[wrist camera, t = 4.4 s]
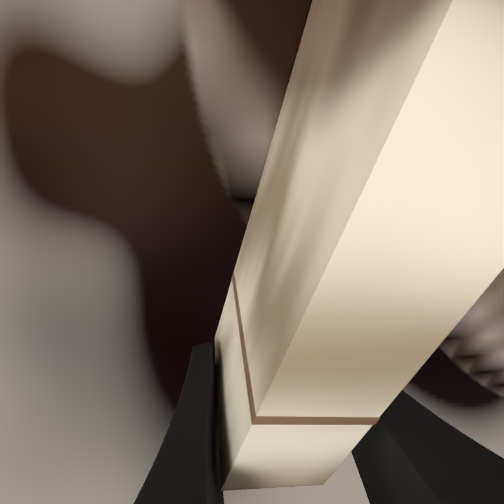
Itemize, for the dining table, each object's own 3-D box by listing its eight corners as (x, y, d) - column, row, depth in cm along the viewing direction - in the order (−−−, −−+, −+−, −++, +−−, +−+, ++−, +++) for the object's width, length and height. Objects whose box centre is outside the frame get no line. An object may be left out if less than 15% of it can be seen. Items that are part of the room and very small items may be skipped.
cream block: (313, -7, 7) (533, -174, 2) (420, 39, 8) (743, -16, 3) (214, 338, 13) (220, 491, 8) (282, 343, 13) (324, 485, 9)
